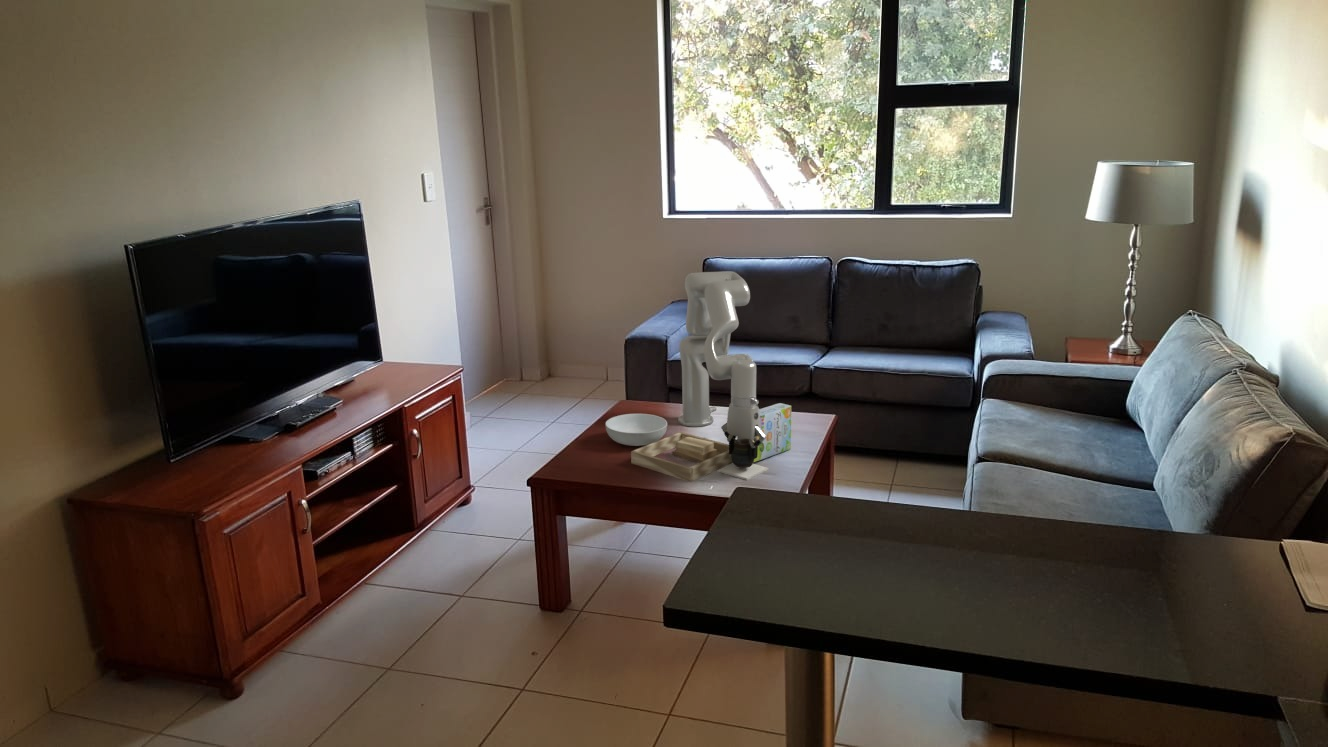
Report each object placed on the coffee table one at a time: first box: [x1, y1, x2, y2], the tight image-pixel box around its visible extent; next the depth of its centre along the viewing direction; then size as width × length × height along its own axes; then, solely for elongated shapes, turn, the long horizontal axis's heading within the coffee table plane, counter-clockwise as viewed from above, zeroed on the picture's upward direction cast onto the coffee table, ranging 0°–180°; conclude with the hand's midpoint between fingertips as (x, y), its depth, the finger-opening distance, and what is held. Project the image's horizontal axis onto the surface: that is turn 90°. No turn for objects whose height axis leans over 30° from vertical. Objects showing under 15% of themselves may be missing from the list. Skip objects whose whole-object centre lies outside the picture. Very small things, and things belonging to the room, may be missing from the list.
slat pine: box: [677, 437, 714, 453], centre depth 290 cm, size 6×10×2 cm, turn 54°
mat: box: [717, 463, 769, 481], centre depth 278 cm, size 11×11×1 cm
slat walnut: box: [671, 449, 712, 464], centre depth 291 cm, size 7×14×2 cm, turn 47°
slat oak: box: [675, 446, 717, 461], centre depth 290 cm, size 6×12×2 cm, turn 44°
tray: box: [630, 431, 733, 483], centre depth 286 cm, size 24×24×4 cm
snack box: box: [736, 402, 792, 463], centre depth 288 cm, size 21×6×15 cm, turn 135°
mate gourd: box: [731, 438, 755, 468], centre depth 277 cm, size 7×8×10 cm
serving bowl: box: [604, 413, 668, 447], centre depth 305 cm, size 21×21×7 cm
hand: (743, 455), depth 277 cm, fingers closed on mate gourd, 7 cm apart
